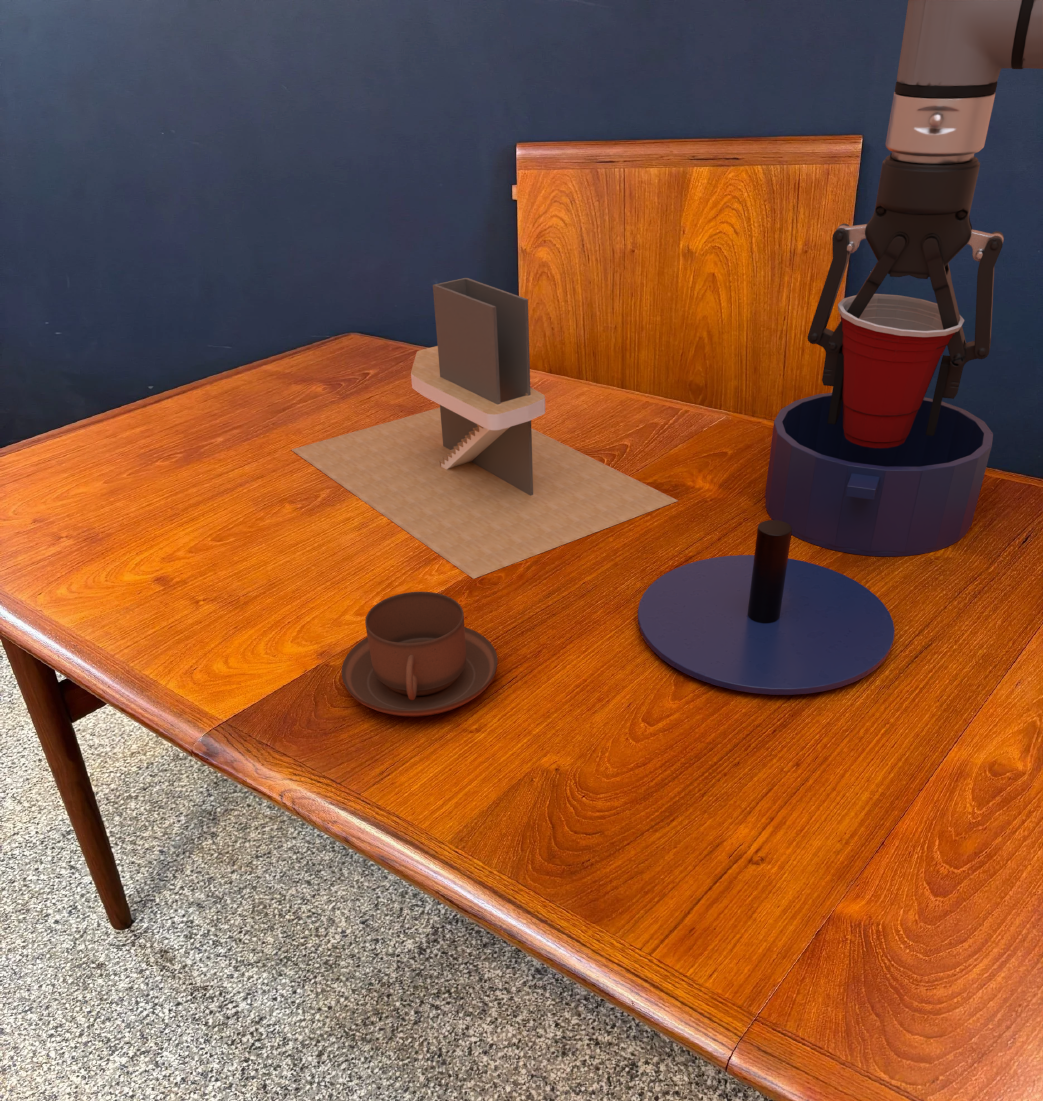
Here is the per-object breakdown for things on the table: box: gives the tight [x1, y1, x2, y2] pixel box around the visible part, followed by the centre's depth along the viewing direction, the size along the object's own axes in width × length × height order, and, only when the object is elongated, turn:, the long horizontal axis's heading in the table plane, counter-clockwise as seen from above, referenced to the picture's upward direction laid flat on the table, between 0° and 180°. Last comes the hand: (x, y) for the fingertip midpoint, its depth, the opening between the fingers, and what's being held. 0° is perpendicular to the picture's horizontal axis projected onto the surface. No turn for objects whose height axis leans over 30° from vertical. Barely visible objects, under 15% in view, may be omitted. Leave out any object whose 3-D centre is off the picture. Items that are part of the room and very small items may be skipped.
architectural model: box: [290, 277, 679, 580], centre depth 104 cm, size 38×25×20 cm, turn 36°
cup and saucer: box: [341, 591, 499, 717], centre depth 77 cm, size 12×12×6 cm
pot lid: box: [637, 519, 895, 696], centre depth 81 cm, size 21×21×9 cm
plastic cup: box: [837, 293, 965, 448], centre depth 92 cm, size 11×11×12 cm
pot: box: [764, 392, 994, 557], centre depth 98 cm, size 20×25×8 cm
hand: (881, 424), depth 95 cm, fingers closed on plastic cup, 8 cm apart
